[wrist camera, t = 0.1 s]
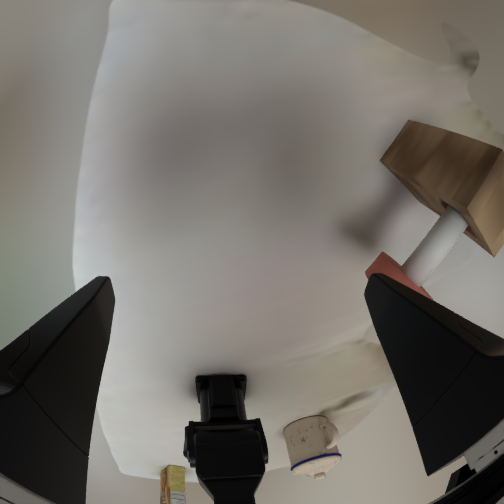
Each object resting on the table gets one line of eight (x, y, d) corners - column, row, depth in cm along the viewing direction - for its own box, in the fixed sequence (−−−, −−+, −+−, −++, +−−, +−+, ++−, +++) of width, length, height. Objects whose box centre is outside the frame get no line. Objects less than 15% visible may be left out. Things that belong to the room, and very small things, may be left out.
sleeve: (419, 202, 26) (494, 257, 16) (380, 160, 23) (466, 208, 13) (445, 165, 24) (524, 209, 14) (408, 120, 21) (502, 149, 12)
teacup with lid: (312, 435, 50) (326, 482, 40) (273, 435, 47) (284, 488, 37) (347, 405, 44) (367, 459, 35) (305, 406, 42) (323, 467, 32)
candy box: (174, 474, 57) (177, 523, 43) (159, 471, 55) (160, 521, 42) (185, 466, 53) (188, 521, 40) (168, 464, 52) (169, 519, 39)
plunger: (394, 287, 24) (428, 332, 19) (353, 260, 22) (390, 310, 16) (451, 216, 21) (496, 249, 16) (419, 175, 19) (473, 206, 13)
